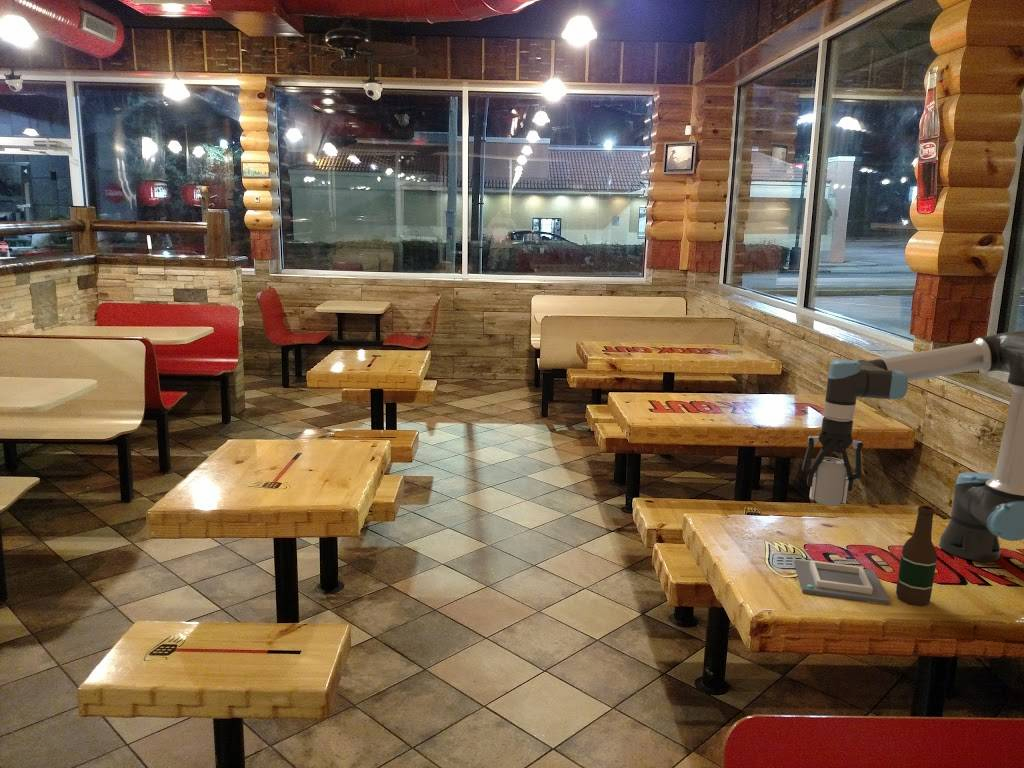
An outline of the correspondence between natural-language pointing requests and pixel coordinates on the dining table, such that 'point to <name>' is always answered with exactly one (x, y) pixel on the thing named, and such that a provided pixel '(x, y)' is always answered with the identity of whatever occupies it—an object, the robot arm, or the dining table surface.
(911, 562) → the beer bottle
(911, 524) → the dining table surface
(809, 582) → the dock
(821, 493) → the can
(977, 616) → the dining table surface
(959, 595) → the dining table surface
